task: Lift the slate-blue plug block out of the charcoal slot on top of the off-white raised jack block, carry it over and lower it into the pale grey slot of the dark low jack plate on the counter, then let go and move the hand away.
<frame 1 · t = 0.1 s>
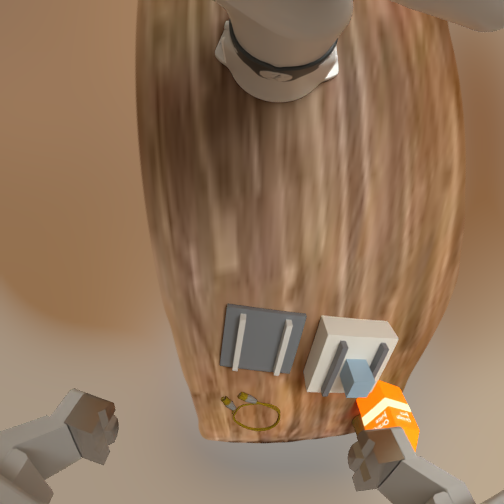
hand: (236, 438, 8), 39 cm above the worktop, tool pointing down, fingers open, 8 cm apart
orange juice: (378, 393, 59), on the worktop
vase: (362, 418, 62), on the worktop
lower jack: (260, 340, 53), on the worktop
coiled cable: (253, 409, 61), on the worktop
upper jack: (345, 347, 53), on the worktop
plug: (352, 367, 48), point 6 cm above the worktop, touching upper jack
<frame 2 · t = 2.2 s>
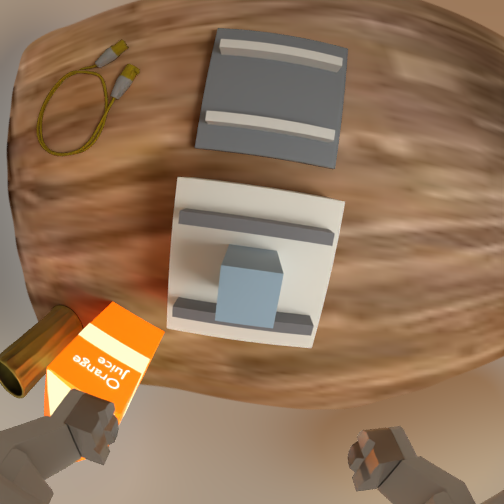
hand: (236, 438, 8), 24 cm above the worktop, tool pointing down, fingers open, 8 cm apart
orange juice: (128, 340, 34), on the worktop
vase: (67, 323, 34), on the worktop
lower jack: (274, 93, 26), on the worktop
coiled cable: (87, 103, 27), on the worktop
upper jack: (250, 252, 31), on the worktop
plug: (249, 270, 25), point 6 cm above the worktop, touching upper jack
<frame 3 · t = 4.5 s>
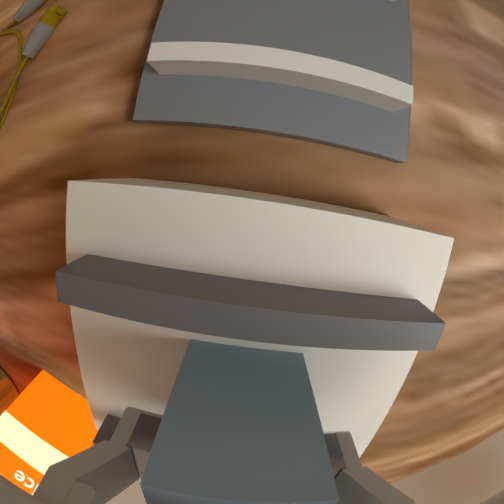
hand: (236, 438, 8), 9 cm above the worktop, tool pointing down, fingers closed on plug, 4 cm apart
orange juice: (73, 417, 19), on the worktop
vase: (3, 382, 19), on the worktop
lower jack: (288, 22, 12), on the worktop
coiled cable: (0, 75, 12), on the worktop
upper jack: (244, 319, 16), on the worktop
plug: (240, 388, 10), point 6 cm above the worktop, touching gripper, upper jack
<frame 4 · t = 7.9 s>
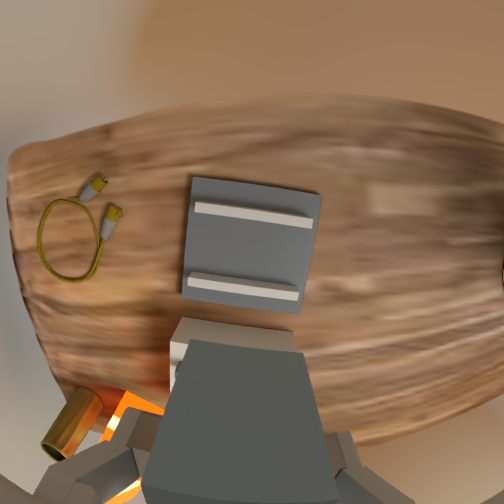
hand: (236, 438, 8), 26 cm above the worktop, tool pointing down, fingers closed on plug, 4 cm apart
orange juice: (140, 414, 40), on the worktop
vase: (89, 398, 40), on the worktop
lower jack: (248, 246, 33), on the worktop
coiled cable: (80, 233, 33), on the worktop
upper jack: (231, 368, 37), on the worktop
plug: (240, 388, 10), point 23 cm above the worktop, touching gripper
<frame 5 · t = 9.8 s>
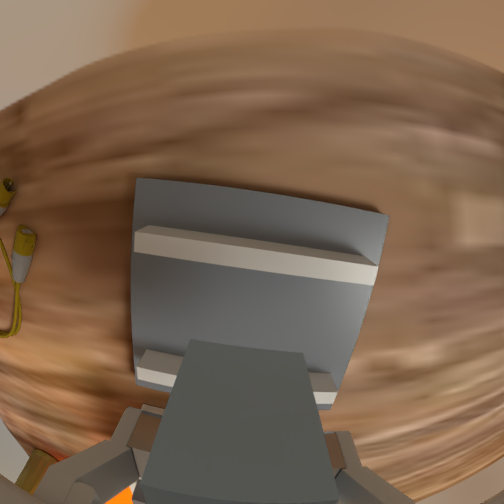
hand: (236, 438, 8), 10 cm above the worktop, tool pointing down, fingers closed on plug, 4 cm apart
orange juice: (111, 487, 25), on the worktop
vase: (51, 461, 24), on the worktop
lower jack: (247, 309, 17), on the worktop
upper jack: (222, 464, 21), on the worktop
plug: (240, 388, 10), point 7 cm above the worktop, touching gripper
when the fingers open (5 cm above the worktop, at t = 11.5 s): plug drops 1 cm, resting on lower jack.
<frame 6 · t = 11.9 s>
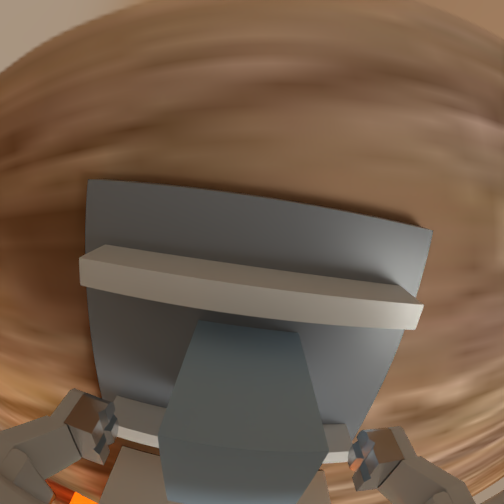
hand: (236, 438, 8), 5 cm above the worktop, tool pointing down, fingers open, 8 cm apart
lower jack: (241, 353, 13), on the worktop
plug: (242, 366, 12), point 1 cm above the worktop, touching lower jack
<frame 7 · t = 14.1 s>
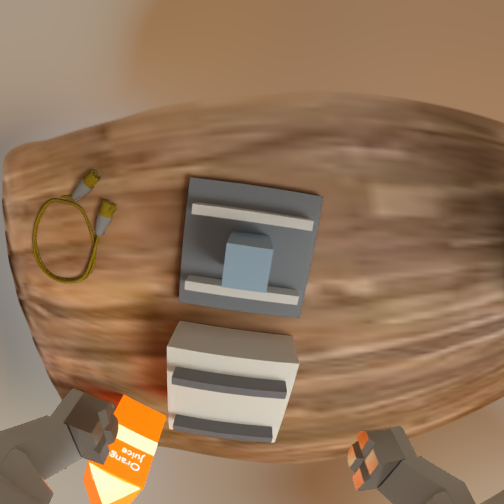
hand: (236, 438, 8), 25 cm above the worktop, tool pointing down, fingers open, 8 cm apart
orange juice: (138, 418, 39), on the worktop
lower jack: (247, 249, 32), on the worktop
coiled cable: (74, 232, 32), on the worktop
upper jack: (229, 373, 36), on the worktop
plug: (248, 251, 31), point 1 cm above the worktop, touching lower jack
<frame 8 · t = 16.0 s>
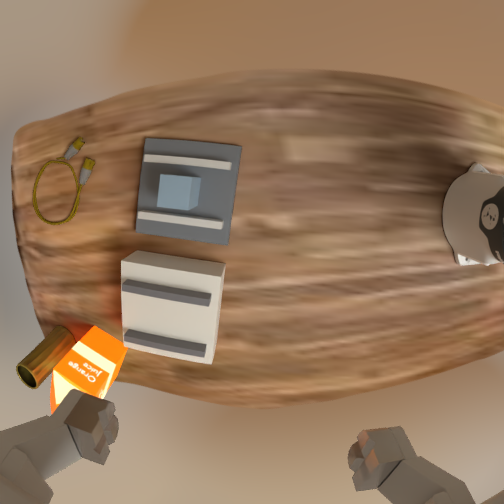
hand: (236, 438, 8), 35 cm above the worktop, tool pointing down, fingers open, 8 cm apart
orange juice: (106, 351, 48), on the worktop
vase: (65, 338, 47), on the worktop
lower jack: (186, 189, 40), on the worktop
coiled cable: (65, 185, 41), on the worktop
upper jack: (176, 299, 44), on the worktop
plug: (185, 190, 39), point 1 cm above the worktop, touching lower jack
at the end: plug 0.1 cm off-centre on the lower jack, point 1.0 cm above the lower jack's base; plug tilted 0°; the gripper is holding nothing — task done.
